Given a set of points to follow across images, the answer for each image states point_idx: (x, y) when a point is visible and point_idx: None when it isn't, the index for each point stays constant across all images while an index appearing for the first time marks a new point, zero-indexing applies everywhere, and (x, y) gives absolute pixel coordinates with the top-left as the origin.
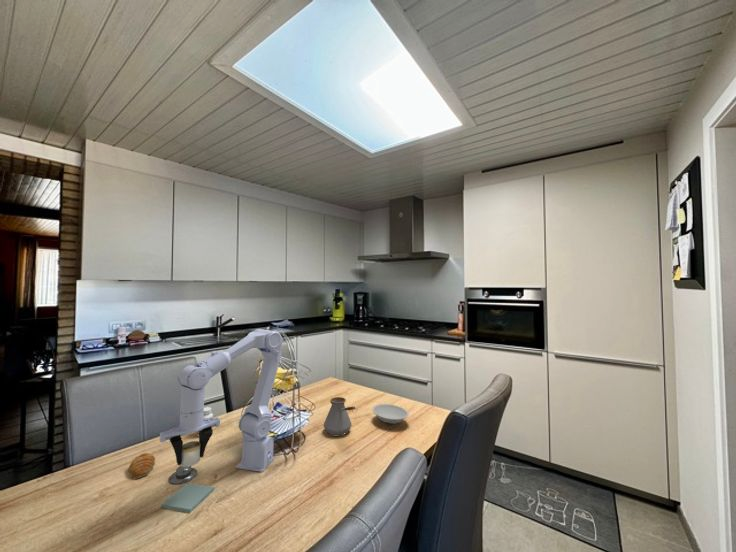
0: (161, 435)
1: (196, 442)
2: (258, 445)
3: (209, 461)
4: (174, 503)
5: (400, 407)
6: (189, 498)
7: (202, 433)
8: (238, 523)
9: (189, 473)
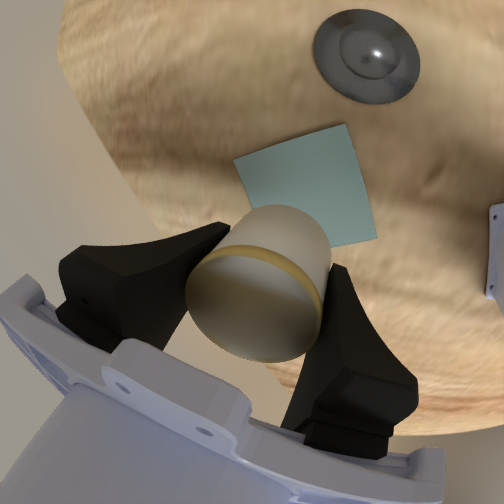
0: (11, 338)
1: (299, 321)
2: None
3: (477, 67)
4: (259, 193)
5: None
6: None
7: (287, 429)
8: None
9: (382, 77)
